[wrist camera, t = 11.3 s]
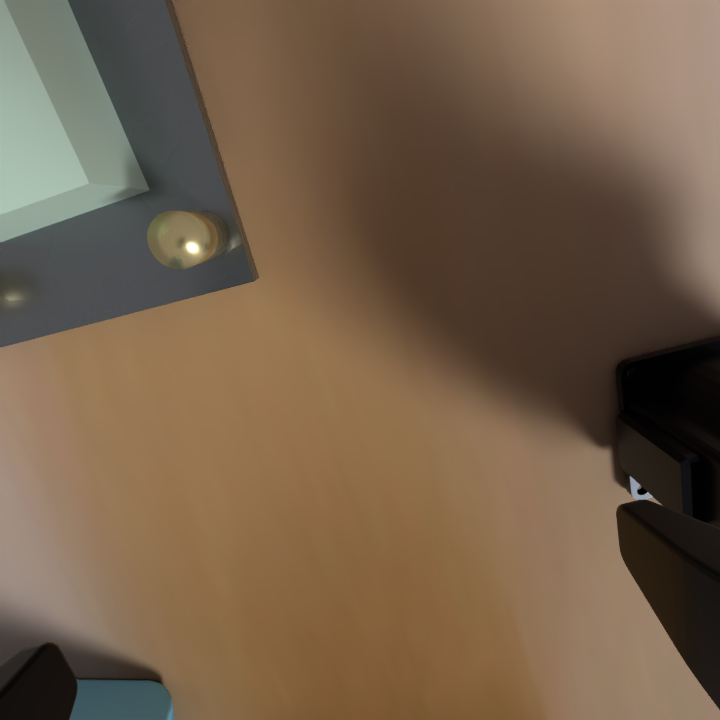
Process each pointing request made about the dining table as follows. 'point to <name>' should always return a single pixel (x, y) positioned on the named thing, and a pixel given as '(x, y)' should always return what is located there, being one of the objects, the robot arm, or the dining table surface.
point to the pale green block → (55, 123)
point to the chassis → (140, 212)
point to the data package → (122, 700)
